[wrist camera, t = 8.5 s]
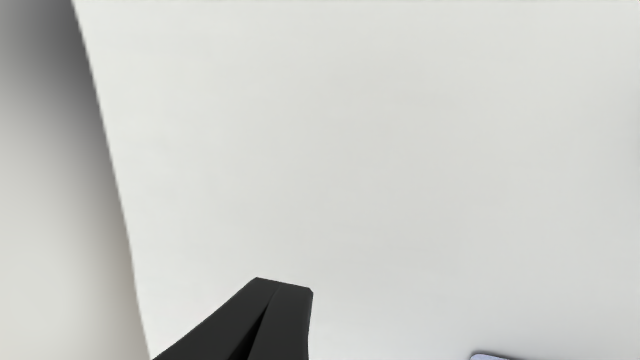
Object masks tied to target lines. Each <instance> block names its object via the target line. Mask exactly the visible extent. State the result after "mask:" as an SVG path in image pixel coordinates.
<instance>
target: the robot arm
mask: <svg viewBox="0 0 640 360" xmlns="http://www.w3.org/2000/svg"><path fill="white" fill-rule="evenodd" d="M312 300H313V292H312V291H311V290H310V288H308V287H303V286H298V285H293V284H288V283H283V282H278V281H273V280H268V279H263V278H258V277H256V278H254V279H252V280H251V281H250V282H249V283H247V284H246V285H245V286H244V287H243V288H242V289H241V290H239V291H238V292H237V293H236V294H235V295H234V296H233V297H231V298H230V299H229V300H228V301H227V302H226V303H224V304H223V305H222V306H221V307H220V308H218V309H217V310H216V311H215V312H214V313H213V314H211V315H210V316H209V317H208V318H206V319H205V320H204V321H203V322H201V323H200V324H199V325H198V326H196V327H195V328H194V329H193V330H191V331H190V332H189V333H187V334H186V335H185V336H184V337H182V338H181V339H180V340H179V341H177V342H176V343H175V344H173V345H172V346H170V347H169V348H168V349H166V350H165V351H164V352H162V353H161V354H159V355H158V356H157V357H155V358H154V359H152V360H309V357H308V332H309V324H310V316H311V308H312ZM470 360H508V359H503V358H499V357H494V356H489V355H484V354H476V355H474V356H472V357H471V359H470Z"/></svg>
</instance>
